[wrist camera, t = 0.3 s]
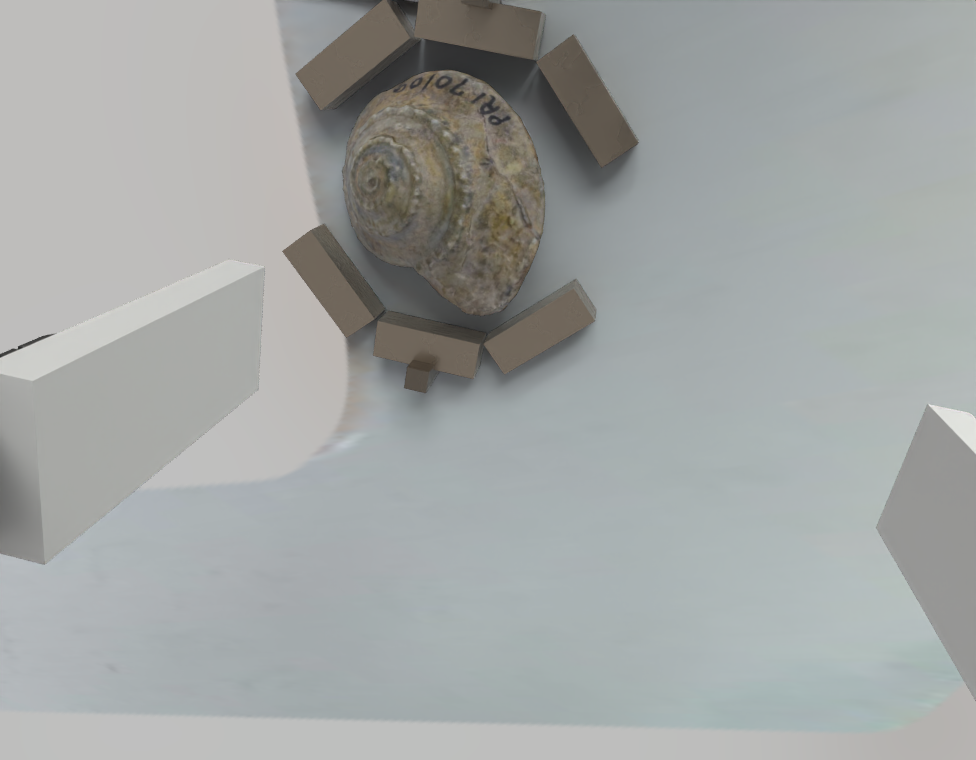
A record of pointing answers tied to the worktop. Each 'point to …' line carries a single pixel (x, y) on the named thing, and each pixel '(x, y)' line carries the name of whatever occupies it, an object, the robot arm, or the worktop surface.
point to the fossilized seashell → (447, 187)
